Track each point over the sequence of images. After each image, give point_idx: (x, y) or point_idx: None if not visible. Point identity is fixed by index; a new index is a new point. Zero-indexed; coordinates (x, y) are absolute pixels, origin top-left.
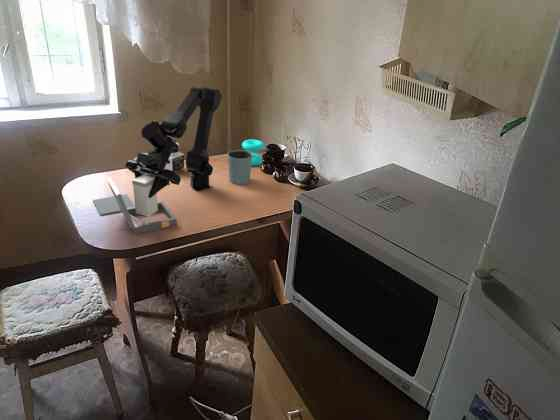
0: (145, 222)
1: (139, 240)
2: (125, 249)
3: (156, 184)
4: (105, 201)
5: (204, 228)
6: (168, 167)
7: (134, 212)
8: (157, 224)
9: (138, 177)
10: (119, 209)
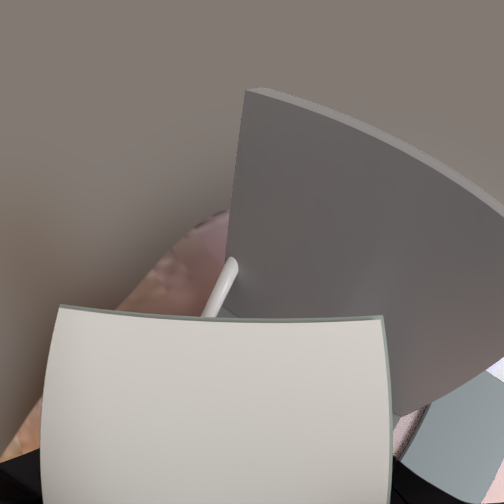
0: None
1: (184, 286)
2: (198, 224)
3: (26, 458)
4: (498, 424)
5: (27, 444)
6: None
7: None
8: None
9: (372, 497)
10: (429, 428)
